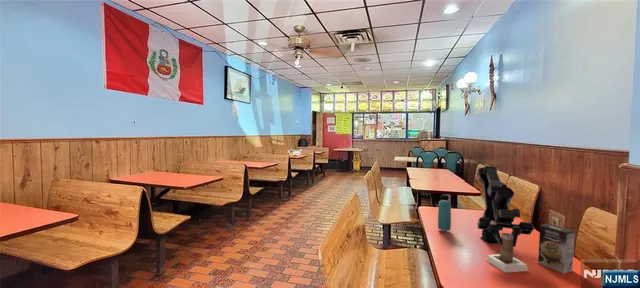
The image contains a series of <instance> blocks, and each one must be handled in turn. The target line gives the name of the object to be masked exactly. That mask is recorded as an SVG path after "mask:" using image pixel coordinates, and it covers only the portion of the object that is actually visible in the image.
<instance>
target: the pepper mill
mask: <svg viewBox="0 0 640 288" xmlns="http://www.w3.org/2000/svg"><path fill="white" fill-rule="evenodd" d="M500 237H501V240H502V245H500V247H499V249H500V251H499V254H500V260H501V261H503V263H506V264H510V263H512V262H513V257H514V246H513V242H514V239H513V235H511V233H507V232H502V233H501V236H500Z"/></svg>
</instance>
